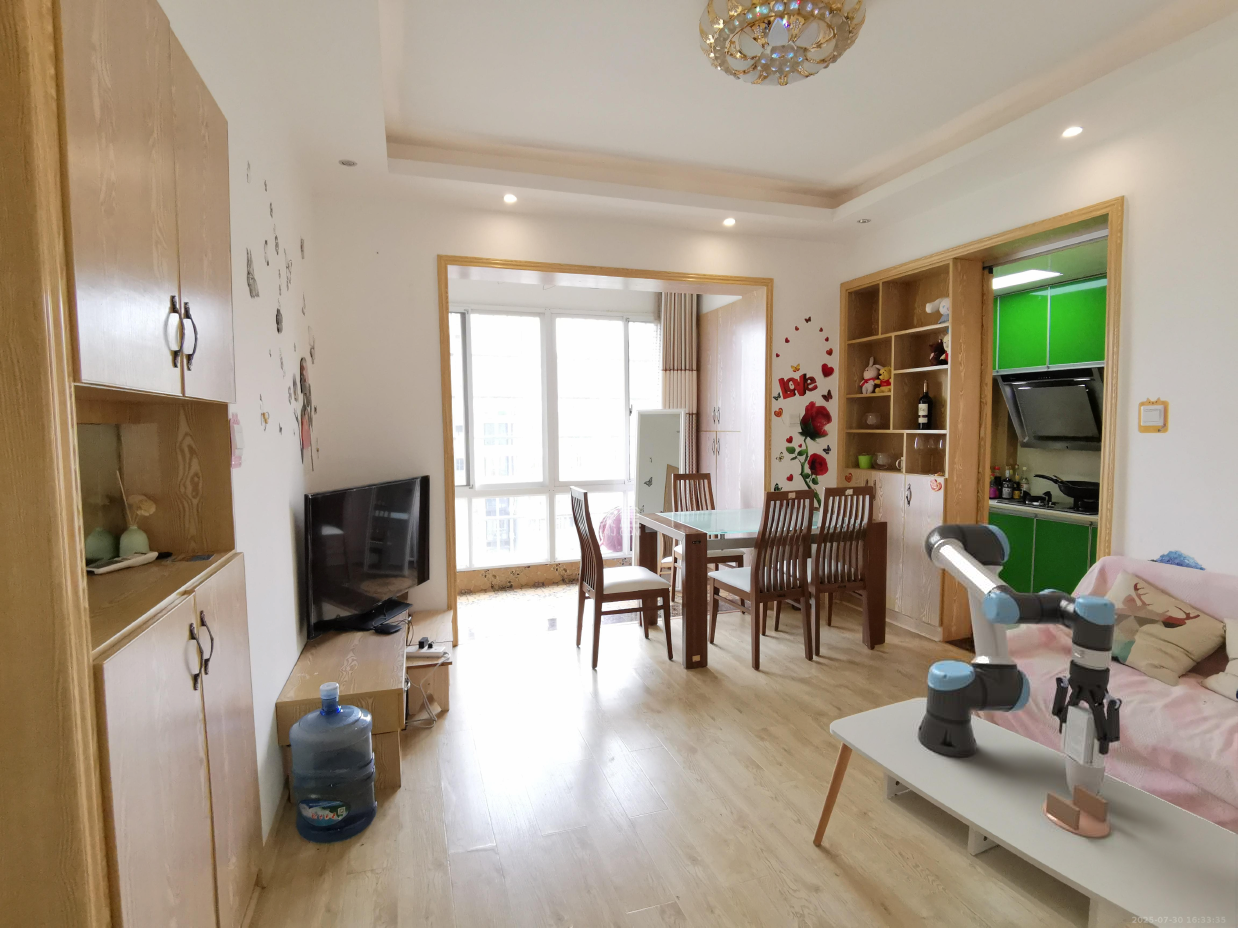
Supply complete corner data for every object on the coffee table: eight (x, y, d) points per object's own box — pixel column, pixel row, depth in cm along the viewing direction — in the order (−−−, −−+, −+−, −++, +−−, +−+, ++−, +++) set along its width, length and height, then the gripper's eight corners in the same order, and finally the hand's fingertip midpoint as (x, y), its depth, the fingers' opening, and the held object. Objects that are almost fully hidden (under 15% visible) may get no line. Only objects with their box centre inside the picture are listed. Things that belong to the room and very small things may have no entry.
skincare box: (1100, 765, 147) (1105, 716, 146) (1083, 766, 147) (1087, 716, 145) (1079, 751, 153) (1083, 703, 152) (1062, 751, 153) (1067, 704, 152)
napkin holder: (1030, 807, 155) (1031, 786, 155) (1067, 797, 160) (1069, 776, 159) (1084, 842, 143) (1086, 819, 143) (1123, 830, 147) (1125, 808, 147)
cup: (1108, 807, 156) (1112, 769, 155) (1072, 802, 158) (1075, 765, 157) (1091, 788, 164) (1095, 751, 163) (1056, 783, 165) (1059, 747, 164)
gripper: (1038, 649, 156) (1030, 738, 158) (1124, 682, 137) (1114, 783, 139) (1059, 645, 158) (1052, 733, 160) (1147, 678, 140) (1137, 777, 142)
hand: (1081, 756), depth 150 cm, fingers closed on skincare box, 7 cm apart
